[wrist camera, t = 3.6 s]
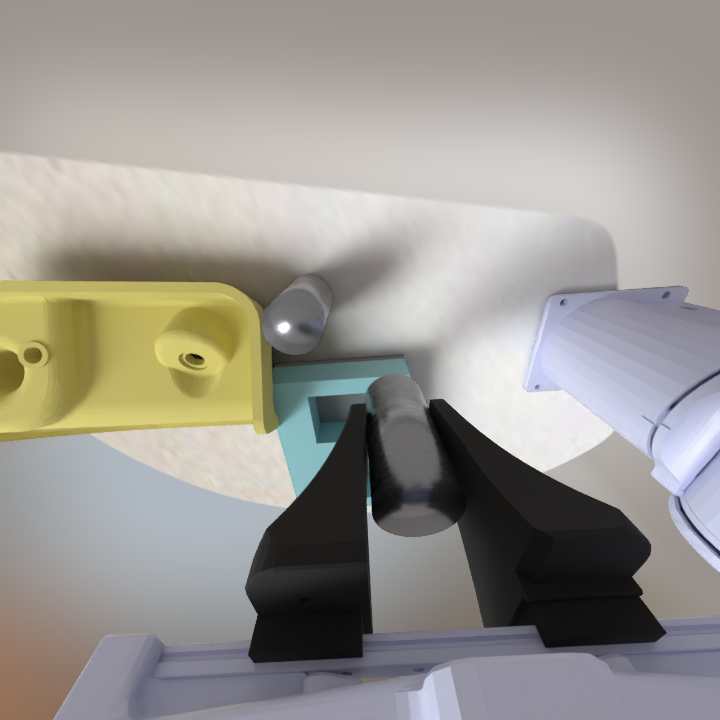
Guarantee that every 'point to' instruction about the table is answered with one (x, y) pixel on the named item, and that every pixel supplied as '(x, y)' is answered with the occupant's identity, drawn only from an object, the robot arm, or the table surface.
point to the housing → (322, 407)
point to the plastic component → (130, 358)
